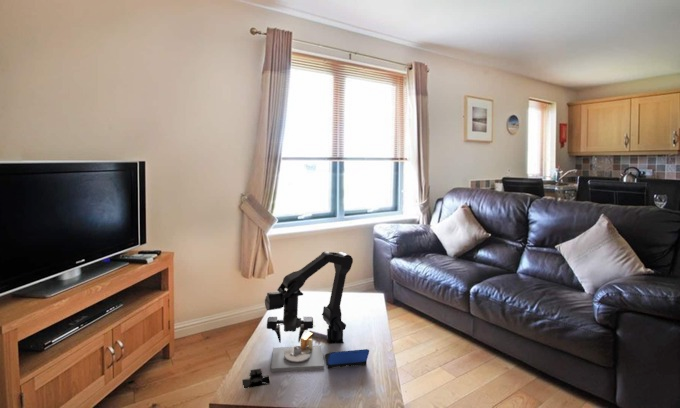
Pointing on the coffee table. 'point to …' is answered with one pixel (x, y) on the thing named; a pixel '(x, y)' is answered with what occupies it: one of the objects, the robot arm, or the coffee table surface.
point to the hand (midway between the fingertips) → (289, 342)
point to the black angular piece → (256, 379)
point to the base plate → (311, 364)
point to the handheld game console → (347, 358)
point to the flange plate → (297, 357)
